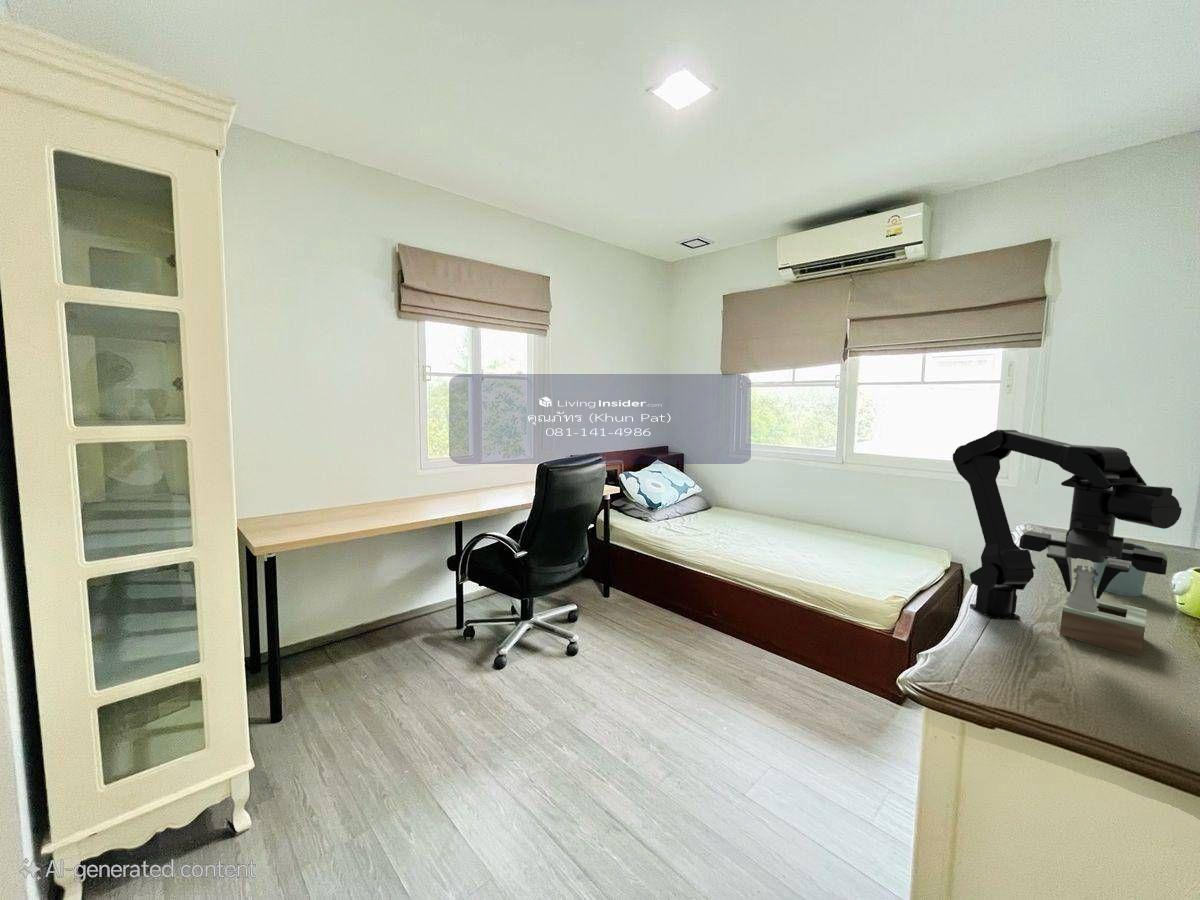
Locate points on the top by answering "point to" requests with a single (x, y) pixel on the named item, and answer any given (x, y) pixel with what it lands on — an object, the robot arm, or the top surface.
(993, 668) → the top surface
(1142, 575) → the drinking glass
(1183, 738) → the top surface
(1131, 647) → the box
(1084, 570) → the rook chess piece
